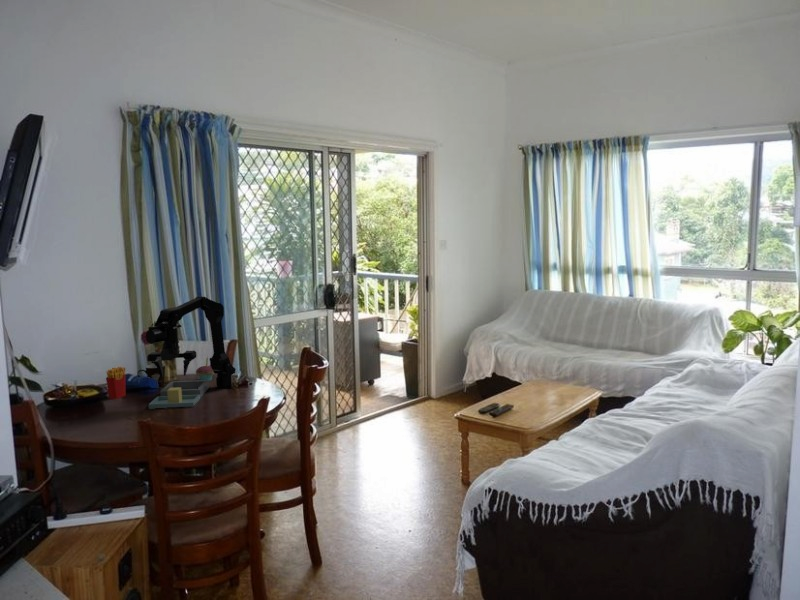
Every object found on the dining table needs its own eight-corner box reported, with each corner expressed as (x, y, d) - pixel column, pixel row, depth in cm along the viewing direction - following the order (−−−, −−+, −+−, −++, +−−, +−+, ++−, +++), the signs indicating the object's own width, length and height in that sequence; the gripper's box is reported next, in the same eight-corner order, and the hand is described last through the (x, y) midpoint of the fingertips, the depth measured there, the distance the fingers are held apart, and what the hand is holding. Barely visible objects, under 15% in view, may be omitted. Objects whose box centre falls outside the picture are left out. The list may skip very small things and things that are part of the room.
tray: (200, 399, 272) (200, 394, 272) (193, 407, 260) (193, 402, 260) (157, 401, 271) (157, 396, 270) (148, 409, 259) (148, 404, 259)
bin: (209, 387, 291) (208, 379, 291) (200, 397, 274) (200, 389, 274) (171, 388, 290) (170, 381, 290) (160, 399, 273) (159, 391, 273)
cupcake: (218, 379, 306) (217, 354, 305) (206, 383, 299) (205, 358, 297) (204, 377, 310) (203, 353, 308) (192, 381, 302) (190, 357, 301)
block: (182, 401, 268) (181, 387, 267) (179, 404, 263) (178, 390, 263) (171, 401, 267) (170, 387, 267) (168, 404, 263) (167, 390, 262)
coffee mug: (170, 384, 298) (168, 363, 297) (161, 389, 290) (159, 368, 289) (146, 384, 300) (144, 363, 298) (137, 389, 291) (135, 368, 290)
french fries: (112, 400, 274) (110, 370, 272) (105, 399, 276) (103, 370, 274) (129, 394, 282) (127, 366, 281) (122, 393, 284) (120, 365, 282)
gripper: (141, 344, 254) (144, 382, 256) (189, 342, 255) (191, 379, 257) (150, 339, 265) (152, 375, 267) (195, 337, 266) (198, 373, 268)
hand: (173, 376), depth 264 cm, fingers open, 9 cm apart
